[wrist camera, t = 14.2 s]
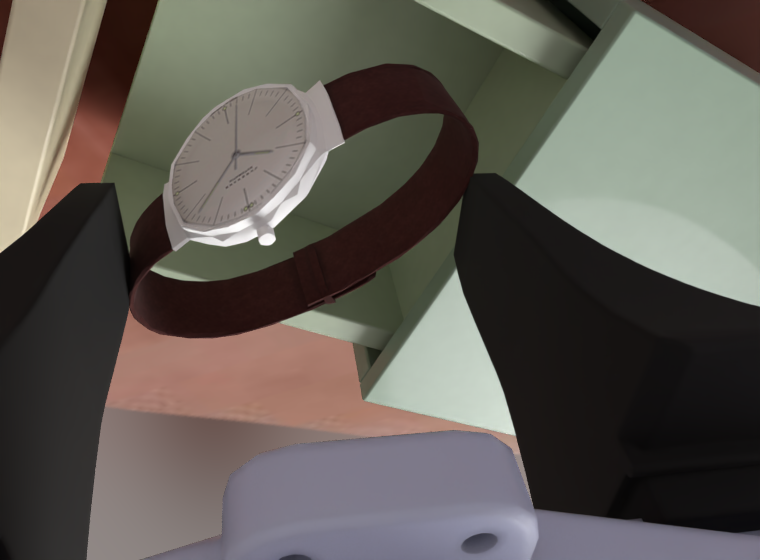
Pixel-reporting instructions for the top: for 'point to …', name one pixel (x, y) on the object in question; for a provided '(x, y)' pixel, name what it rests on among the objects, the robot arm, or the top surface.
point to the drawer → (303, 70)
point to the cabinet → (606, 196)
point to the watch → (290, 199)
